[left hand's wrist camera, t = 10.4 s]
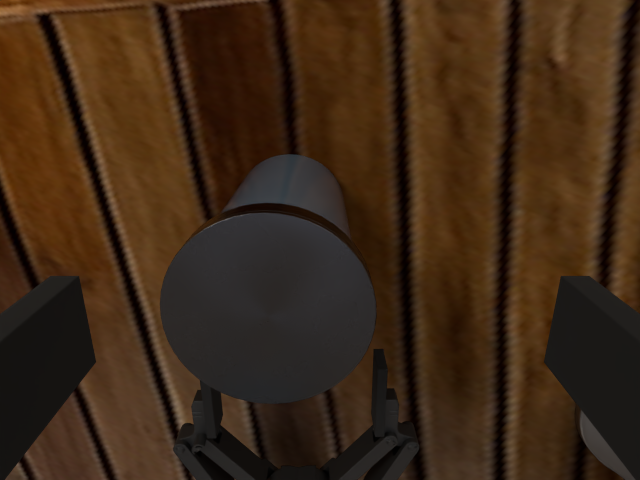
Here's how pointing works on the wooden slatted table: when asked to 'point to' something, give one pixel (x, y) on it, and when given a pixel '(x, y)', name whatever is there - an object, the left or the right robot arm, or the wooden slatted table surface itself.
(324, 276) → the lid
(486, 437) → the wooden slatted table surface
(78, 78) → the wooden slatted table surface
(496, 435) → the wooden slatted table surface
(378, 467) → the right robot arm
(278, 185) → the jar
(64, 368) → the left robot arm
